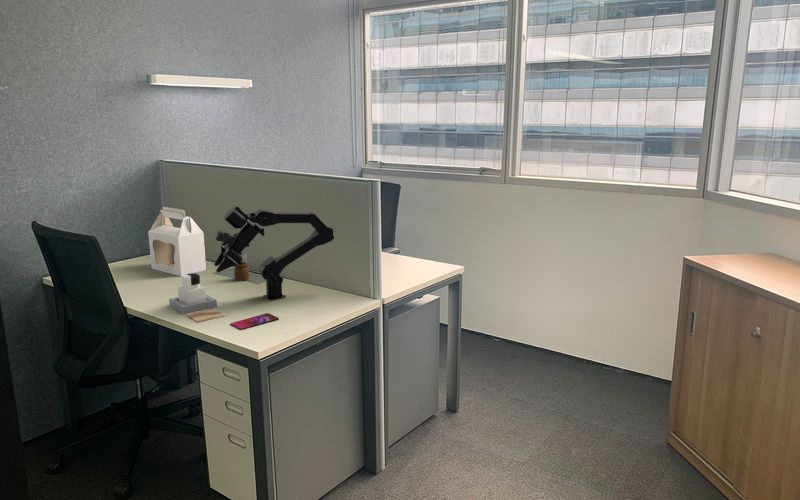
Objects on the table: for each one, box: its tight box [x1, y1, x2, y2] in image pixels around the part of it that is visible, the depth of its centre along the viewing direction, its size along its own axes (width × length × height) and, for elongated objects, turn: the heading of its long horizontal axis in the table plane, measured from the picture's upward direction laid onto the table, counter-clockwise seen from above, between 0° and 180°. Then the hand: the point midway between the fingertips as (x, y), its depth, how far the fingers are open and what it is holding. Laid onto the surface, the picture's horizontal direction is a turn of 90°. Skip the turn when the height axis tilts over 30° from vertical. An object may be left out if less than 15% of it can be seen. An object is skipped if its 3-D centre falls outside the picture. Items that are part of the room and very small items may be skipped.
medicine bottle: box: [177, 273, 207, 305], centre depth 217 cm, size 7×7×12 cm
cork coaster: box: [185, 307, 226, 323], centre depth 208 cm, size 10×10×1 cm
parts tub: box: [168, 294, 218, 315], centre depth 218 cm, size 13×13×2 cm
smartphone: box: [230, 312, 280, 331], centre depth 202 cm, size 8×1×15 cm
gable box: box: [147, 206, 207, 277], centre depth 265 cm, size 22×13×28 cm, turn 55°
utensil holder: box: [233, 254, 250, 282], centre depth 252 cm, size 6×6×12 cm
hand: (215, 268), depth 219 cm, fingers open, 9 cm apart
